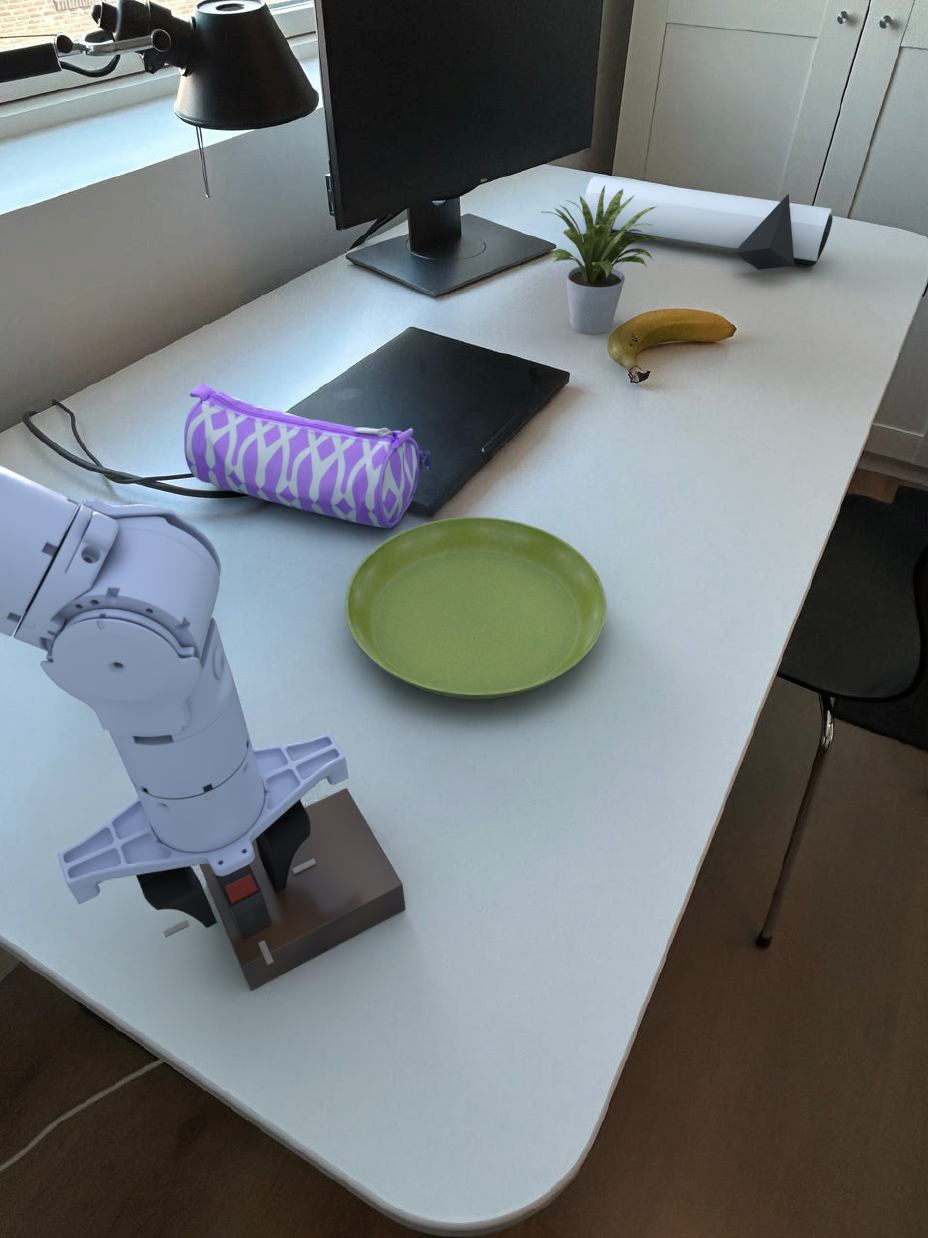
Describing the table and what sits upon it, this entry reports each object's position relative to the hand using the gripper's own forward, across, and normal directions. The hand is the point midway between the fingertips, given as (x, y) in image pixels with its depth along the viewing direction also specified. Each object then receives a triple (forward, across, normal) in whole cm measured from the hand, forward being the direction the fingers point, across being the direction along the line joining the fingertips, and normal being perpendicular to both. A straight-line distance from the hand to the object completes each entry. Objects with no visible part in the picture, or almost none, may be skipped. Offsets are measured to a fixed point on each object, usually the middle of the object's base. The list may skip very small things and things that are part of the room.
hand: (241, 894), depth 51 cm
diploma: (+4, +92, +64) cm, 112 cm away
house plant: (+4, +65, +54) cm, 84 cm away
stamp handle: (0, 0, 0) cm, 0 cm away
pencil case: (+4, +21, +38) cm, 44 cm away
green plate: (+3, +25, +15) cm, 30 cm away
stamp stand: (+3, +2, 0) cm, 4 cm away
